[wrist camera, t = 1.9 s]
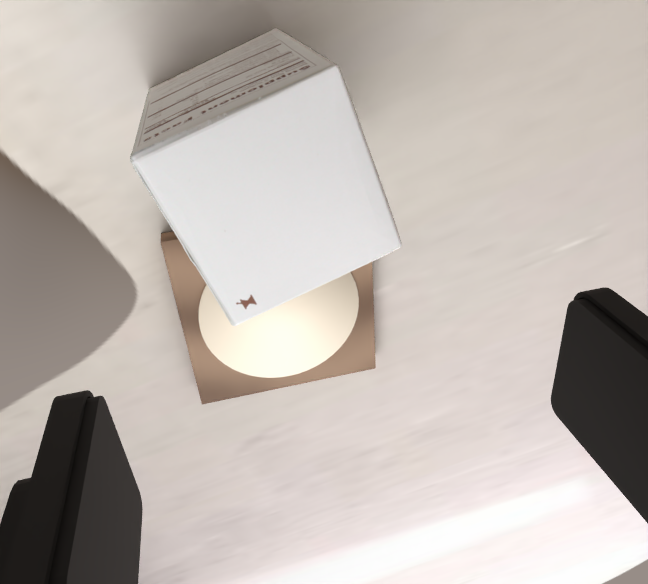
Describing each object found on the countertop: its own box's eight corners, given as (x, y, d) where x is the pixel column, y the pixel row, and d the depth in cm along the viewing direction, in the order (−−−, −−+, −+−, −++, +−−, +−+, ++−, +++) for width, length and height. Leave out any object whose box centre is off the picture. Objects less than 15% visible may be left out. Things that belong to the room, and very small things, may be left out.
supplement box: (330, 155, 31) (408, 253, 21) (211, 210, 31) (229, 335, 21) (279, 21, 27) (343, 59, 17) (142, 84, 27) (121, 160, 17)
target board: (161, 233, 31) (160, 243, 30) (364, 200, 33) (371, 209, 32) (201, 392, 38) (202, 405, 37) (370, 357, 40) (376, 369, 38)
